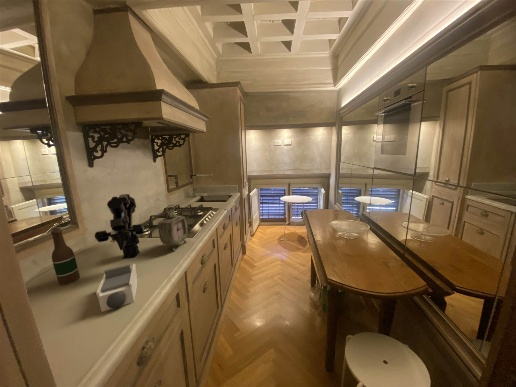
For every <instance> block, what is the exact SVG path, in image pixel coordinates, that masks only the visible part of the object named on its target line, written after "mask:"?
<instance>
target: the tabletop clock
mask: <svg viewBox="0 0 516 387" xmlns="http://www.w3.org/2000/svg"><path fill="white" fill-rule="evenodd" d="M169 207H173V209H170V210H169V211H168V209H169ZM165 209H166V210H165V212H166V213H168V214H167V215H166V217H165V218H164V219H161V220H160V221H159V222H158V226H157V229H158V237H159V240H160V241H161V243H162V244H163V245H171V247H172V250H171V251H172V252H175V251H176V248H175V245H179V244H180V243H182V242H183V243H184V244H186V243H187V242H188V241H187V240H186V239H187V238H188V236H189V227H188V221H187V217H186V216H185V215H177V214H176V213H175V212H174V211H175V209H176V207H175V205H174V204H169V205H168V206H166V208H165Z"/></svg>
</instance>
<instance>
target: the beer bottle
mask: <svg viewBox="0 0 516 387" xmlns="http://www.w3.org/2000/svg"><path fill="white" fill-rule="evenodd" d="M50 234H51V236H52V241H53V244H54V245H53V247H54V249H53V251H52V254H51V262H52V265H53V269H54V272H55V276H56V279H57V283H58V285H59V286H66V285H67V286H68V285H70V284H72V283H75V282H77V281H78V280H79V279H80V278H81V277H80V271H79V267H78V263H77V260H76V256H75V252H74V251H73V249H72V247H71V246H69V245H67V243H66V241H65V238H64V236H63V230H62V229H61V228H57V229H54V230H50Z"/></svg>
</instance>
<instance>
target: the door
mask: <svg viewBox="0 0 516 387" xmlns="http://www.w3.org/2000/svg"><path fill="white" fill-rule="evenodd" d="M131 268H132V267H131V264H130V263H128V264H125V265H119V266H117V267H112V268H107V269H105V270H104V274H105V277H106V280H105V282H104V285H103V287H102V292H105V291H108V290H112V289H116V288H119V287H123V286H126V285H129V281H130V276H131V272H132V271H131Z"/></svg>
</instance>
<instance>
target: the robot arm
mask: <svg viewBox="0 0 516 387" xmlns="http://www.w3.org/2000/svg"><path fill="white" fill-rule="evenodd" d="M106 205H107V206H106V207H107V208H108V209H109V211H110V213H111V215H112V219H110V220H109V221H110V222H109V225H110V228H111V231H110V232H107V230H106V229H104V230H98V231H95V233H94V238H95V240H96V241H97V242H98V243H102V242H107V241H108V240H110V238H111V240H112V241H114V242H116V244H117V245H118V248H119V250H120V251H122V254H123V256H122V257H121V258H122V259H130V258H135V257H137V255H138V254H140V251H141V250H140V249H139V243H140V239H139V235H143V234H145V228H144V225H143V224H142V223H139V224H138V223H137V224H133V214H134V213H135V212H136V208H137V202H136V199H135V198H133V196H131V195H130V193H125V194H120V195H119V196H112V197H111V199H110V200H108V201H107V204H106Z"/></svg>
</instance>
